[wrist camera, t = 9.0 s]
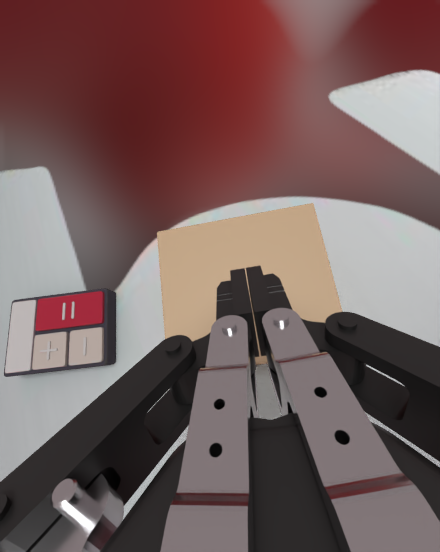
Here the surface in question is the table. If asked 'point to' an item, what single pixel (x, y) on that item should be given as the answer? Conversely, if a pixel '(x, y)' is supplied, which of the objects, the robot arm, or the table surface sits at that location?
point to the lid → (244, 266)
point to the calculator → (61, 332)
